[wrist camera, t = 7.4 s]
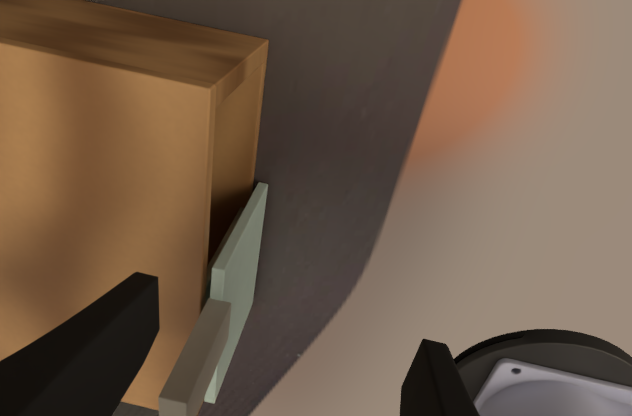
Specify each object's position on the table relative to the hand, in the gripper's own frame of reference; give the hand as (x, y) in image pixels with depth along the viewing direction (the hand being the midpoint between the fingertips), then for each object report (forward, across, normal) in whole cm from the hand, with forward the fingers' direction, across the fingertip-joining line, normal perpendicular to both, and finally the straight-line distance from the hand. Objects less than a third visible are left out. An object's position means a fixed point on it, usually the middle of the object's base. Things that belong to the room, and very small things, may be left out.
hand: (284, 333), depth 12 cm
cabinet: (+10, +8, +3) cm, 14 cm away
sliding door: (+10, +3, +5) cm, 12 cm away
